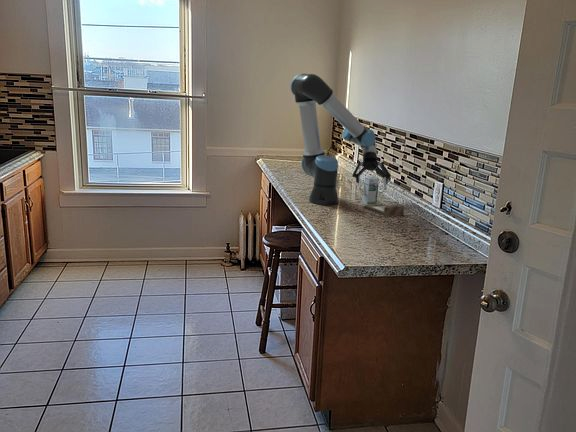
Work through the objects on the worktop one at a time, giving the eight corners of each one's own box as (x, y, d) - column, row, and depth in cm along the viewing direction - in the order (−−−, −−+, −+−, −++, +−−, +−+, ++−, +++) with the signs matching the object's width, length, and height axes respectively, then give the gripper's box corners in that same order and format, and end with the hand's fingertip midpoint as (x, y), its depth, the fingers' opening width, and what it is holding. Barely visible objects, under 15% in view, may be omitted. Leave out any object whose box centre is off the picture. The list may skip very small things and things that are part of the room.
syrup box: (366, 205, 265) (369, 178, 261) (361, 202, 271) (364, 175, 267) (376, 205, 267) (379, 178, 263) (371, 202, 272) (374, 175, 268)
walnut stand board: (385, 216, 246) (386, 207, 245) (363, 208, 259) (364, 200, 258) (403, 214, 253) (404, 205, 251) (381, 206, 265) (382, 198, 264)
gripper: (390, 160, 282) (394, 193, 271) (345, 158, 280) (347, 191, 270) (394, 152, 275) (398, 185, 265) (348, 149, 273) (350, 183, 263)
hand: (372, 188), depth 267 cm, fingers open, 13 cm apart
